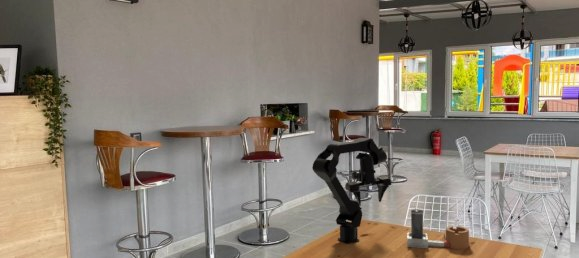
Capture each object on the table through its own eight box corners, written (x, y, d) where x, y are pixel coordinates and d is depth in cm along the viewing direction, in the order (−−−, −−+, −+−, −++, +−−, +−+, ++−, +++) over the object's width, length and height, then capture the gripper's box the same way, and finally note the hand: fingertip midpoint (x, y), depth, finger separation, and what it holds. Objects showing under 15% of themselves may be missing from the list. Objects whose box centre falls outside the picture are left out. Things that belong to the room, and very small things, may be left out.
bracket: (470, 251, 170) (470, 233, 170) (446, 249, 172) (446, 231, 172) (464, 236, 188) (464, 219, 187) (443, 235, 190) (443, 218, 189)
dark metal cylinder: (413, 240, 175) (413, 212, 174) (409, 236, 179) (409, 209, 179) (424, 240, 175) (424, 211, 174) (420, 236, 179) (420, 209, 179)
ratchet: (407, 240, 182) (407, 232, 182) (453, 243, 178) (453, 235, 177) (407, 247, 175) (407, 238, 174) (455, 250, 170) (455, 241, 170)
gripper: (378, 160, 199) (381, 195, 202) (339, 167, 195) (342, 202, 197) (390, 165, 189) (393, 201, 191) (349, 172, 184) (352, 209, 186)
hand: (369, 203), depth 192 cm, fingers open, 9 cm apart
